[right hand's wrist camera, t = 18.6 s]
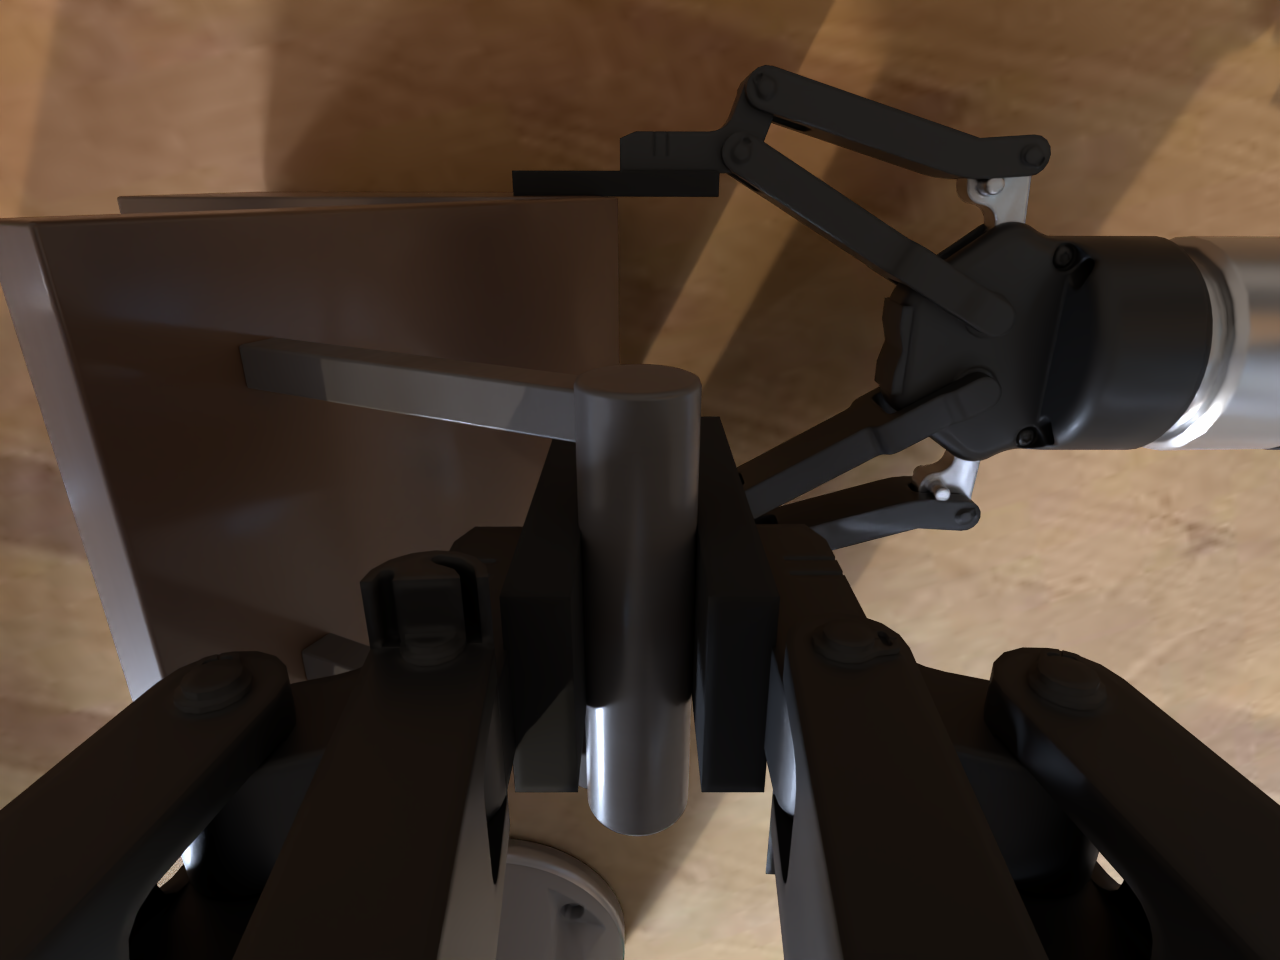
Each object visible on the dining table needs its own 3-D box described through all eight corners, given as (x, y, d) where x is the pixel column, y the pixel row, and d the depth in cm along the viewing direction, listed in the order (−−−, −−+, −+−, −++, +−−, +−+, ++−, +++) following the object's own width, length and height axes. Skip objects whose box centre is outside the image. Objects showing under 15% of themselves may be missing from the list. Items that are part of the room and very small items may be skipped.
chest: (299, 426, 34) (192, 507, 26) (256, 191, 30) (115, 196, 22) (611, 425, 34) (607, 504, 26) (608, 192, 31) (601, 196, 22)
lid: (170, 827, 13) (600, 1066, 9) (-23, 218, 9) (576, 242, 6) (592, 509, 26) (843, 561, 22) (584, 196, 22) (886, 200, 18)
